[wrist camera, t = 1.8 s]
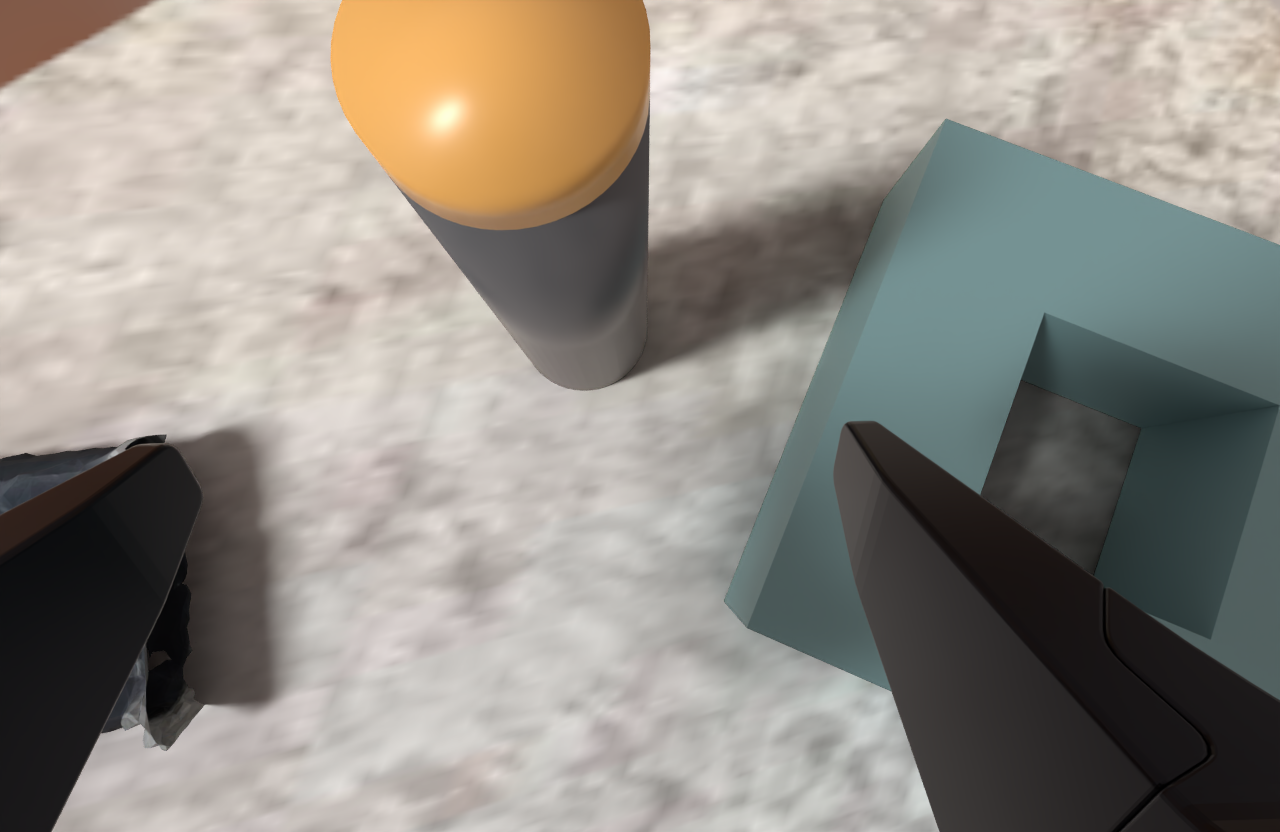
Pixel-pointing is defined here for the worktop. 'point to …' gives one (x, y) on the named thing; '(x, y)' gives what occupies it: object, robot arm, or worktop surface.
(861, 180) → the worktop surface
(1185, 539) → the socket
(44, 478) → the electronic device
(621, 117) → the plug
